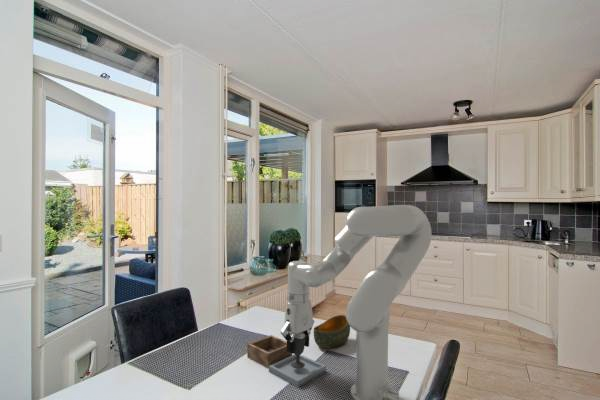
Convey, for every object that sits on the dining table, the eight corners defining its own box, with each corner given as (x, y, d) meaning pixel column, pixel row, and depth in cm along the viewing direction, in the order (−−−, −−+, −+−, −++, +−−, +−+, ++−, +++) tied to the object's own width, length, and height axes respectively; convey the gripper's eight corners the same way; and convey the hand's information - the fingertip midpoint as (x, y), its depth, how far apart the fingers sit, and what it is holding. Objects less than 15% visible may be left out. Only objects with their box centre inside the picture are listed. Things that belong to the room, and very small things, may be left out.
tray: (325, 371, 114) (325, 365, 114) (298, 387, 104) (298, 381, 104) (296, 358, 123) (296, 353, 123) (268, 371, 113) (268, 366, 113)
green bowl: (363, 347, 133) (362, 322, 133) (316, 353, 128) (315, 327, 128) (350, 335, 146) (350, 313, 146) (307, 340, 141) (307, 316, 141)
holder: (292, 357, 124) (292, 343, 124) (268, 368, 116) (268, 354, 116) (271, 347, 133) (271, 335, 133) (247, 357, 124) (247, 343, 124)
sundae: (305, 370, 109) (306, 325, 110) (286, 368, 111) (286, 323, 111) (309, 361, 116) (309, 319, 116) (290, 359, 117) (291, 317, 118)
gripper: (288, 304, 105) (287, 360, 105) (322, 294, 118) (322, 344, 117) (272, 300, 110) (272, 353, 110) (307, 290, 123) (306, 338, 122)
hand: (298, 348), depth 114 cm, fingers closed on sundae, 6 cm apart
